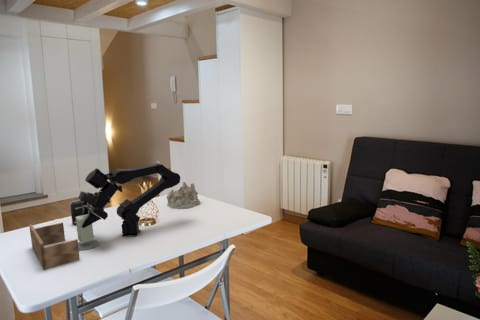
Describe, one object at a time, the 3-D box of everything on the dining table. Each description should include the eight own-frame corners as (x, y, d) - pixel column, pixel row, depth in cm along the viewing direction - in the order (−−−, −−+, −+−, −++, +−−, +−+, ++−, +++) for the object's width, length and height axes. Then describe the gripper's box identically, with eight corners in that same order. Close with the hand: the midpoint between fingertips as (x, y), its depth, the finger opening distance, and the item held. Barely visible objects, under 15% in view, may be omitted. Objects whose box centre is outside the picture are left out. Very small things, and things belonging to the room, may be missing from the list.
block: (90, 236, 157) (88, 214, 155) (94, 239, 153) (91, 217, 151) (78, 239, 154) (75, 216, 152) (81, 243, 150) (78, 219, 148)
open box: (64, 239, 160) (62, 218, 159) (79, 259, 141) (76, 234, 139) (32, 247, 153) (29, 224, 151) (43, 269, 133) (40, 243, 132)
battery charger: (73, 226, 177) (70, 203, 175) (71, 224, 180) (69, 201, 178) (88, 223, 181) (86, 200, 179) (86, 220, 184) (84, 198, 182)
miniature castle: (204, 203, 207) (201, 177, 205) (181, 212, 195) (178, 184, 193) (186, 200, 218) (183, 175, 215) (164, 208, 206) (160, 182, 203)
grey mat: (102, 240, 159) (102, 239, 159) (93, 250, 149) (92, 249, 149) (80, 240, 159) (79, 239, 159) (68, 250, 149) (68, 249, 149)
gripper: (83, 180, 159) (59, 210, 154) (96, 188, 144) (69, 221, 140) (104, 194, 165) (80, 223, 161) (118, 203, 150) (93, 235, 146)
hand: (80, 225), depth 152 cm, fingers closed on block, 5 cm apart
